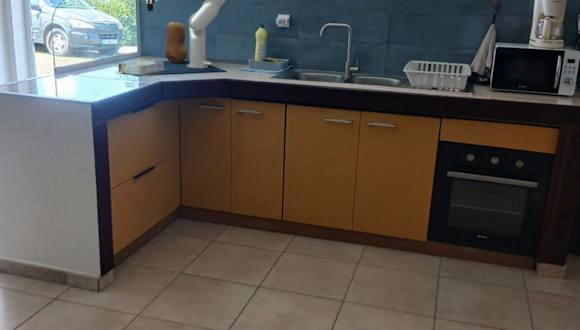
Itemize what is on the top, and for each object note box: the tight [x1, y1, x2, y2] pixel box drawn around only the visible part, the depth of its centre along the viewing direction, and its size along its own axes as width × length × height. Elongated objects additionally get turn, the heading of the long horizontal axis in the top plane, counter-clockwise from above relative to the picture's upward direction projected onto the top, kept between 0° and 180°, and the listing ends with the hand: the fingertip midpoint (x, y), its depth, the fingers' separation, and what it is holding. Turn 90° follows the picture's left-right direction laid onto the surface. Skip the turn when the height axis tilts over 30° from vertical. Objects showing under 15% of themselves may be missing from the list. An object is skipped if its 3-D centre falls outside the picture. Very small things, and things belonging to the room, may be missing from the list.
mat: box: [125, 69, 167, 77], centre depth 336 cm, size 14×24×1 cm, turn 166°
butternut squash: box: [164, 21, 188, 64], centre depth 371 cm, size 14×13×25 cm
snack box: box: [118, 59, 165, 76], centre depth 334 cm, size 21×6×15 cm
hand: (150, 11), depth 347 cm, fingers closed
